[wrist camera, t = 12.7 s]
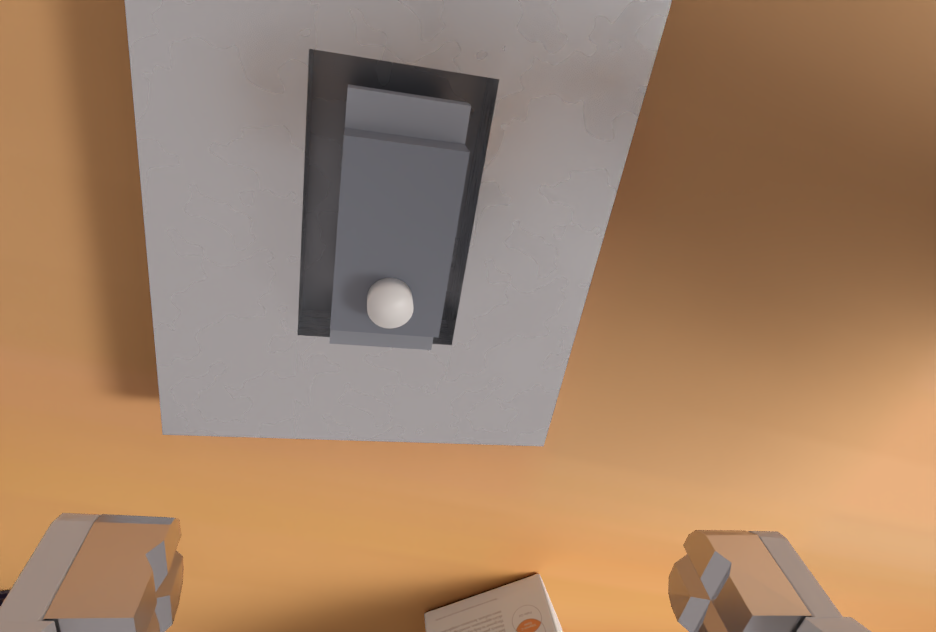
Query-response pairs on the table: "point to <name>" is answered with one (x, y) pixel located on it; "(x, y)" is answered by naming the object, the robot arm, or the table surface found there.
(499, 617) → the small box
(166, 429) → the chassis
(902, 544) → the table surface
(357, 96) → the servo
